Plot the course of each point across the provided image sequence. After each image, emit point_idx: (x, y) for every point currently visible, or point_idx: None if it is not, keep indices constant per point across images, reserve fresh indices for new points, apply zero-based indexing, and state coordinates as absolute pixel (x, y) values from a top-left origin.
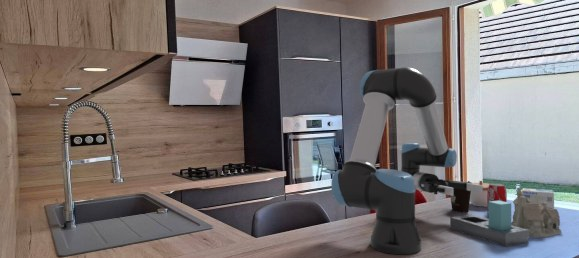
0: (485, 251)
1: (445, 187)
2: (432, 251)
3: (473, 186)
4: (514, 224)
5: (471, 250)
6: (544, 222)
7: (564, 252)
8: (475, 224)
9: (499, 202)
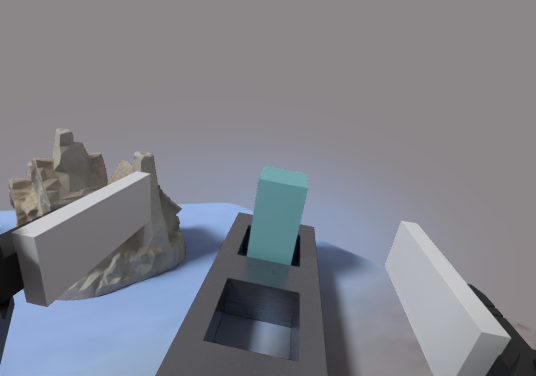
0: (372, 264)
1: (444, 264)
2: (513, 325)
3: (107, 215)
4: (155, 252)
5: None
6: None
7: (243, 207)
8: (315, 285)
9: (286, 176)
